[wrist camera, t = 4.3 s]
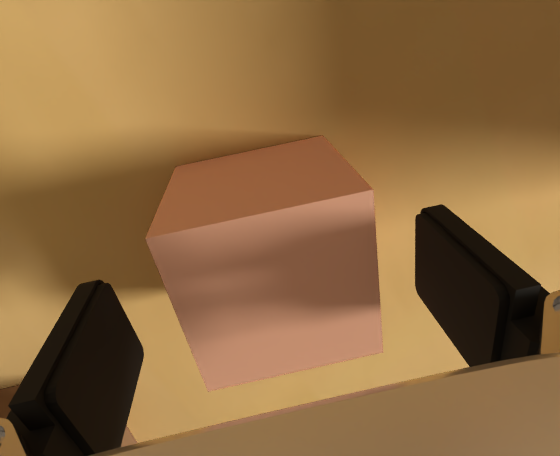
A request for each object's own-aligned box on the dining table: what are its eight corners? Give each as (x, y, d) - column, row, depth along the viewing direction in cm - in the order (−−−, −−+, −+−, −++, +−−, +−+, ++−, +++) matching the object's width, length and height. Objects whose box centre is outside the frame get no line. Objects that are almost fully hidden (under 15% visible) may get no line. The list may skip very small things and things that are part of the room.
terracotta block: (322, 134, 15) (373, 189, 10) (337, 257, 18) (383, 352, 12) (176, 165, 15) (145, 238, 9) (214, 284, 18) (208, 391, 12)
